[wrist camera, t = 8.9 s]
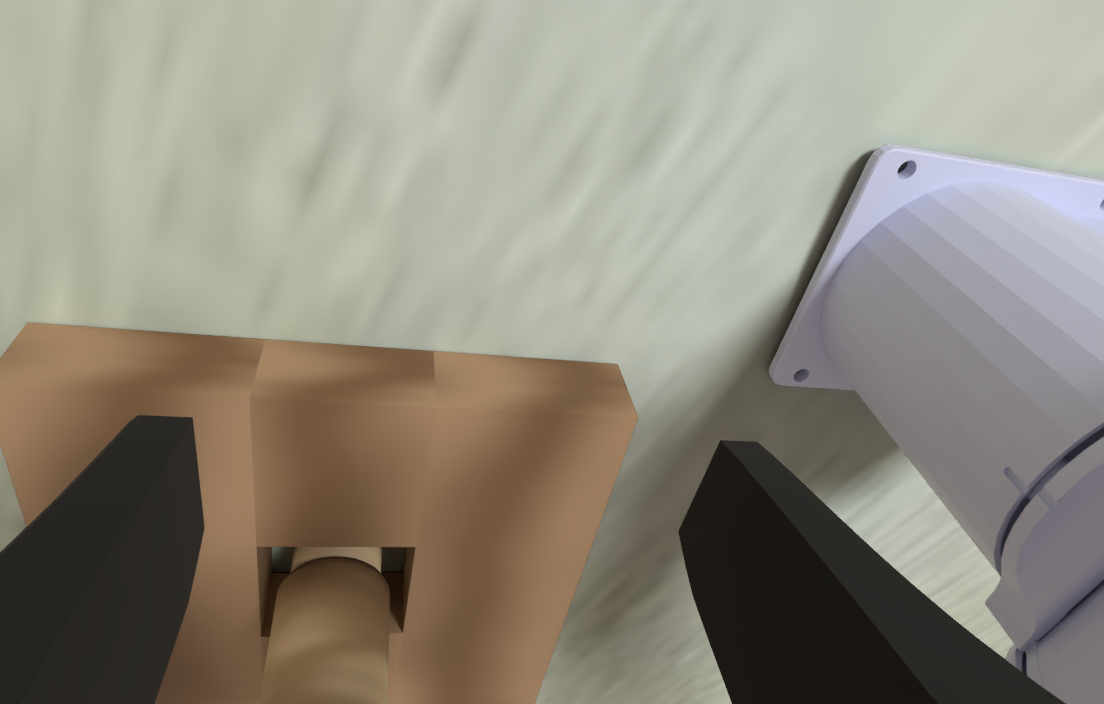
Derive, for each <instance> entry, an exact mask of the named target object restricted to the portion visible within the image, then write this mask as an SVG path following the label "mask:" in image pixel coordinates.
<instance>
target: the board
mask: <svg viewBox="0 0 1104 704" xmlns="http://www.w3.org/2000/svg"><path fill="white" fill-rule="evenodd" d="M138 415H151V416H174V417H193V424H194V434H195V443H196V452H197V461H198V470H199V480H200V489H201V498H202V507H203V516H204V525H205V529H204V533H203V538H202V543H201V548H200V553H199V558H198V562H197V567H196V572H195V576H194V581H193V585H192V590H191V594H190V599H189V603H188V606H187V609H186V612H185V615H184V618H183V622H182V625H181V627H180V630H179V633H178V636H177V639H176V642H175V645H174V648H173V651H172V654H171V657H170V660H169V663H168V666H167V669H166V672H165V675H164V678H163V680H162V683H161V686H160V689H159V692H158V695H157V698H156V701H155V704H259V700H260V694H261V688H262V682H263V676H264V670H265V663H266V657H267V651H268V645H269V639H270V633H271V627H272V621H273V615H274V609H275V603H276V597H277V591H278V589H279V587H280V585H281V583H282V582H283V581H284V580H285V579H286V578H287V576H288V575H289V574H290V573H272V547H407V550H406V557H405V564H404V572H399V573H381V574H382V576H383V578H384V579H385V580H386V582H387V584H388V586H389V590H390V612H389V664H388V704H535V701H536V698H537V695H538V693H539V690H540V687H541V684H542V682H543V679H544V676H545V673H546V671H547V668H548V665H549V662H550V660H551V657H552V654H553V651H554V649H555V646H556V643H557V640H558V638H559V635H560V632H561V629H562V627H563V624H564V621H565V618H566V616H567V613H568V610H569V607H570V605H571V602H572V599H573V596H574V593H575V591H576V588H577V585H578V582H579V580H580V577H581V574H582V571H583V569H584V566H585V563H586V560H587V558H588V555H589V552H590V549H591V547H592V544H593V541H594V538H595V536H596V533H597V530H598V527H599V525H600V522H601V519H602V516H603V514H604V511H605V508H606V505H607V502H608V500H609V497H610V494H611V491H612V489H613V486H614V483H615V480H616V478H617V475H618V472H619V469H620V467H621V464H622V461H623V458H624V456H625V453H626V450H627V447H628V445H629V442H630V439H631V436H632V434H633V431H634V428H635V425H636V423H637V420H638V416H637V413H636V410H635V408H634V405H633V402H632V400H631V397H630V395H629V392H628V389H627V387H626V384H625V382H624V379H623V376H622V374H621V371H620V369H619V366H618V364H608V363H594V362H580V361H566V360H552V359H537V358H523V357H509V356H495V355H481V354H467V353H452V352H438V351H424V350H410V349H396V348H381V347H367V346H353V345H339V344H325V343H311V342H296V341H282V340H268V339H254V338H240V337H226V336H211V335H197V334H183V333H169V332H155V331H141V330H126V329H112V328H98V327H84V326H70V325H55V324H41V323H27V324H26V325H25V327H24V328H23V329H22V331H21V332H20V333H19V334H18V336H17V337H16V338H15V340H14V341H13V342H12V344H11V345H10V346H9V348H8V349H7V350H6V352H5V353H4V354H3V356H2V357H1V358H0V445H1V448H2V451H3V454H4V457H5V461H6V464H7V467H8V470H9V473H10V476H11V479H12V482H13V485H14V488H15V492H16V495H17V498H18V501H19V504H20V507H21V510H22V513H23V516H24V520H25V523H26V526H28V525H29V524H30V523H31V522H32V521H33V520H34V519H35V518H36V517H37V516H38V515H40V514H41V513H42V512H43V511H44V510H45V509H46V508H47V507H48V506H49V505H50V504H51V503H52V502H53V501H54V500H55V499H56V498H57V497H58V496H59V495H60V494H61V493H62V492H63V491H64V490H65V489H66V488H67V487H68V486H69V485H70V483H71V482H72V481H73V480H74V479H75V478H76V477H77V476H78V475H79V474H80V473H81V472H82V471H83V470H84V469H85V468H86V467H87V466H88V465H89V464H90V463H91V462H92V461H93V460H94V459H95V458H96V456H97V455H98V454H99V453H100V452H101V451H102V450H103V449H104V448H105V447H106V446H107V445H108V444H109V443H110V442H111V441H112V439H113V438H114V437H115V436H116V435H117V434H118V433H119V432H120V431H121V430H122V429H123V428H124V427H125V425H126V424H127V423H128V422H129V421H131V420H132V419H133V418H135V417H136V416H138Z"/></svg>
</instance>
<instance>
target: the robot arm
mask: <svg viewBox="0 0 1104 704" xmlns="http://www.w3.org/2000/svg"><path fill="white" fill-rule="evenodd" d="M906 161H908V164H907V166H906V168H905V169H904V170H903V171H901V172H900V173H897V172H898V169H899V167H900V166H901V165H902V164H903V163H904V162H906ZM801 369H803V370H802V371H801V372H799V373H798V374H795V373H796V372H797V371H799V370H801ZM768 372H769V376H770V377H771V379H772V380H773V382H774V383H775V384H777V385H781V386H793V387H808V388H823V389H838V390H854V391H856V393H857V394H858V395H859V396H860V398H861V399H862V400H863V402H864V403H865V404H866V405H867V407H868V408H869V409H870V410H871V412H872V413H873V414H874V416H875V417H876V418H877V419H878V421H879V422H880V423H881V425H882V426H883V427H884V428H885V430H886V431H887V432H888V433H889V435H890V436H891V437H892V439H893V440H894V441H895V442H896V444H897V445H898V446H899V448H900V449H901V450H902V451H903V453H904V454H905V455H906V456H907V458H908V459H909V460H910V462H911V463H912V464H913V465H914V467H915V468H916V469H917V471H918V472H919V473H920V474H921V476H922V477H923V478H924V480H925V481H926V482H927V483H928V485H929V486H930V487H931V488H932V490H933V491H934V492H935V494H936V495H937V496H938V497H939V499H940V500H941V501H942V503H943V504H944V505H945V506H946V508H947V509H948V510H949V511H950V513H951V514H952V515H953V517H954V518H955V519H956V520H957V522H958V523H959V524H960V526H961V527H962V528H963V529H964V531H965V532H966V533H967V534H968V536H969V537H970V538H971V540H972V541H973V542H974V543H975V545H976V546H977V547H978V549H979V550H980V551H981V552H982V554H983V555H984V556H985V558H986V559H987V560H988V561H989V563H990V564H991V565H992V566H993V568H994V569H995V570H996V572H997V573H998V574H999V575H1000V577H1001V579H1000V582H999V584H998V585H997V587H996V589H995V590H994V592H993V593H992V594H991V595H990V596H989V597H988V599H987V600H986V602H985V605H986V606H987V607H988V609H989V610H990V611H991V613H992V614H993V615H994V617H995V618H996V619H997V621H998V622H999V624H1000V625H1001V626H1002V628H1003V629H1004V630H1005V632H1006V633H1007V634H1008V636H1009V637H1010V638H1011V640H1012V641H1013V643H1014V645H1013V646H1012V647H1011V648H1010V649H1009V651H1008V653H1007V655H1006V657H1005V659H1004V658H1003V657H1001V656H1000V655H999V654H997V653H996V652H995V651H993V650H992V649H991V648H990V647H988V646H987V645H986V644H984V643H983V642H982V641H980V640H979V639H978V638H976V637H975V636H974V635H973V634H971V633H970V632H969V631H968V630H966V629H965V628H964V627H963V626H961V625H960V624H959V623H958V622H956V621H955V620H954V619H953V618H952V617H950V616H949V615H948V614H947V613H946V612H944V611H943V610H942V609H941V608H940V607H939V606H937V605H936V604H935V603H934V602H933V601H931V600H930V599H929V598H928V597H927V596H926V595H924V594H923V593H922V592H921V591H920V590H918V589H917V588H916V587H915V586H914V585H913V584H911V583H910V582H909V581H908V580H907V579H906V578H905V577H903V576H902V575H901V574H900V573H899V572H898V571H897V570H896V569H894V568H893V567H892V566H891V565H890V564H889V563H888V562H887V561H885V560H884V559H883V558H882V557H881V556H880V555H879V554H878V553H877V552H876V551H874V550H873V549H872V548H871V547H870V546H869V545H868V544H867V543H866V542H865V541H864V540H862V539H861V538H860V537H859V536H858V535H857V534H856V533H855V532H854V531H853V530H852V529H851V528H850V527H849V526H847V525H846V524H845V523H844V522H843V521H842V520H841V519H840V518H839V517H838V516H837V515H836V514H835V513H834V512H833V511H832V510H830V509H829V508H828V507H827V506H826V505H825V504H824V503H823V502H822V501H821V500H820V499H819V498H818V497H817V496H816V495H815V494H814V493H813V492H811V491H810V490H809V489H808V488H807V487H806V486H805V485H804V484H803V483H802V482H801V481H800V480H799V479H798V478H797V477H796V476H795V475H793V474H792V473H791V472H790V471H789V470H788V469H787V468H786V467H785V466H784V465H783V464H782V463H781V462H779V461H778V460H777V459H776V458H775V457H774V456H773V455H772V454H771V453H769V452H768V451H767V450H766V449H765V448H764V447H762V446H761V445H760V444H759V443H758V442H745V441H722V440H720V442H719V445H718V447H717V449H716V451H715V453H714V455H713V458H712V460H711V462H710V464H709V466H708V469H707V471H706V473H705V475H704V477H703V479H702V482H701V484H700V486H699V488H698V490H697V492H696V495H695V497H694V499H693V501H692V503H691V505H690V508H689V510H688V512H687V514H686V516H685V518H684V521H683V523H682V525H681V527H680V529H679V536H680V541H681V546H682V551H683V555H684V560H685V565H686V569H687V573H688V578H689V582H690V586H691V590H692V594H693V597H694V600H695V603H696V606H697V609H698V612H699V615H700V617H701V620H702V623H703V626H704V628H705V631H706V634H707V637H708V639H709V642H710V645H711V648H712V650H713V653H714V656H715V659H716V661H717V664H718V667H719V669H720V672H721V675H722V677H723V680H724V683H725V685H726V688H727V691H728V694H729V696H730V699H731V702H732V704H1104V180H1099V179H1093V178H1087V177H1082V176H1076V175H1070V174H1064V173H1058V172H1052V171H1046V170H1040V169H1034V168H1029V167H1023V166H1017V165H1011V164H1005V163H999V162H993V161H987V160H982V159H976V158H970V157H964V156H958V155H952V154H946V153H940V152H934V151H929V150H923V149H917V148H911V147H905V146H899V145H893V144H892V145H885V146H882V147H880V148H878V149H877V150H876V151H875V152H874V153H872V155H871V156H870V158H869V159H868V161H867V163H866V166H865V168H864V170H863V172H862V174H861V176H860V178H859V180H858V182H857V184H856V187H855V189H854V191H853V193H852V195H851V197H850V199H849V201H848V203H847V205H846V208H845V210H844V212H843V214H842V216H841V218H840V220H839V222H838V224H837V226H836V229H835V231H834V233H833V235H832V237H831V239H830V241H829V243H828V245H827V247H826V250H825V252H824V254H823V256H822V258H821V260H820V262H819V264H818V266H817V268H816V271H815V273H814V275H813V277H812V279H811V281H810V283H809V285H808V287H807V289H806V292H805V294H804V296H803V298H802V300H801V302H800V304H799V306H798V308H797V310H796V313H795V315H794V317H793V319H792V321H791V323H790V325H789V327H788V329H787V331H786V334H785V336H784V338H783V340H782V342H781V344H780V346H779V348H778V350H777V352H776V355H775V357H774V359H773V361H772V363H771V365H770V367H769V371H768ZM204 529H205V525H204V516H203V507H202V498H201V489H200V480H199V470H198V461H197V452H196V443H195V434H194V424H193V417H174V416H151V415H138V416H136V417H135V418H133V419H132V420H131V421H129V422H128V423H127V424H126V425H125V427H124V428H123V429H122V430H121V431H120V432H119V433H118V434H117V435H116V436H115V437H114V438H113V439H112V441H111V442H110V443H109V444H108V445H107V446H106V447H105V448H104V449H103V450H102V451H101V452H100V453H99V454H98V455H97V456H96V458H95V459H94V460H93V461H92V462H91V463H90V464H89V465H88V466H87V467H86V468H85V469H84V470H83V471H82V472H81V473H80V474H79V475H78V476H77V477H76V478H75V479H74V480H73V481H72V482H71V483H70V485H69V486H68V487H67V488H66V489H65V490H64V491H63V492H62V493H61V494H60V495H59V496H58V497H57V498H56V499H55V500H54V501H53V502H52V503H51V504H50V505H49V506H48V507H47V508H46V509H45V510H44V511H43V512H42V513H41V514H40V515H38V516H37V517H36V518H35V519H34V520H33V521H32V522H31V523H30V524H29V525H28V526H27V527H26V528H25V529H24V530H23V531H22V532H21V533H20V534H19V535H18V536H17V537H16V538H15V539H14V540H13V541H12V542H11V543H10V544H9V545H8V546H6V547H5V548H4V549H3V550H2V551H1V552H0V704H155V701H156V698H157V695H158V692H159V689H160V686H161V683H162V680H163V678H164V675H165V672H166V669H167V666H168V663H169V660H170V657H171V654H172V651H173V648H174V645H175V642H176V639H177V636H178V633H179V630H180V627H181V625H182V622H183V618H184V615H185V612H186V609H187V606H188V603H189V599H190V594H191V590H192V585H193V581H194V576H195V572H196V567H197V562H198V558H199V553H200V548H201V543H202V538H203V533H204Z"/></svg>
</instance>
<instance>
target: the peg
mask: <svg viewBox="0 0 1104 704" xmlns="http://www.w3.org/2000/svg"><path fill="white" fill-rule="evenodd" d="M381 552H382V547H294V554H293V560H292V567H291V573H290V574H289V575H288V576H287V578H286V579H285V580H284V581H283V582H282V583H281V585H280V587H279V589H278V591H277V597H276V603H275V609H274V615H273V621H272V627H271V633H270V639H269V645H268V651H267V657H266V663H265V670H264V676H263V682H262V688H261V694H260V700H259V704H388V664H389V612H390V590H389V586H388V584H387V582H386V580H385V579H384V578H383V576H382V574H381Z"/></svg>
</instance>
